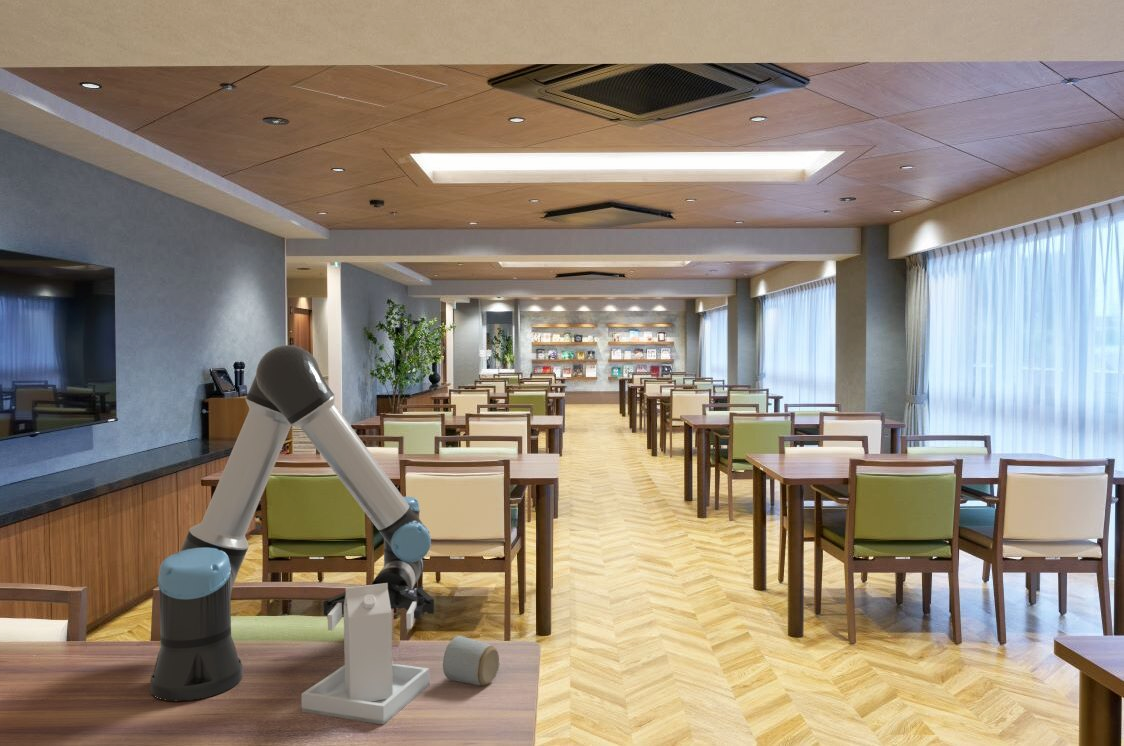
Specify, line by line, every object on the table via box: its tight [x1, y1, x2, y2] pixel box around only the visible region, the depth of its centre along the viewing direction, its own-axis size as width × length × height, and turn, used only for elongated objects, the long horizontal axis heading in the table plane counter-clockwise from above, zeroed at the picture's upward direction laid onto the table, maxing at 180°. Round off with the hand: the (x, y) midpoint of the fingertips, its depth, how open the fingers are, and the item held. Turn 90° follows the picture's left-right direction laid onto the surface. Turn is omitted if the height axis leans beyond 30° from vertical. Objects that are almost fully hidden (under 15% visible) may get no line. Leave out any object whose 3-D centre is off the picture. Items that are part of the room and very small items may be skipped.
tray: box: [301, 663, 430, 725], centre depth 135 cm, size 16×16×3 cm
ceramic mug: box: [442, 635, 501, 686], centre depth 143 cm, size 11×8×8 cm
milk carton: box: [343, 583, 393, 702], centre depth 135 cm, size 7×7×19 cm
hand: (369, 622), depth 135 cm, fingers open, 13 cm apart
